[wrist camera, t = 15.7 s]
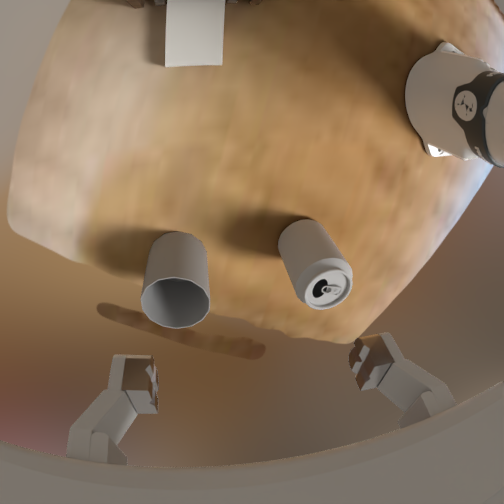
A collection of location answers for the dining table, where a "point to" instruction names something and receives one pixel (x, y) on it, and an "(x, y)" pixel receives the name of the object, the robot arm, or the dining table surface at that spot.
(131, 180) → the dining table surface
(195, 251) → the cup
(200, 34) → the white and orange box
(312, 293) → the can
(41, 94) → the dining table surface
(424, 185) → the dining table surface
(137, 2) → the cabinet
